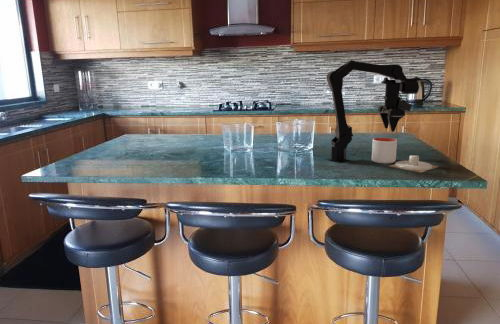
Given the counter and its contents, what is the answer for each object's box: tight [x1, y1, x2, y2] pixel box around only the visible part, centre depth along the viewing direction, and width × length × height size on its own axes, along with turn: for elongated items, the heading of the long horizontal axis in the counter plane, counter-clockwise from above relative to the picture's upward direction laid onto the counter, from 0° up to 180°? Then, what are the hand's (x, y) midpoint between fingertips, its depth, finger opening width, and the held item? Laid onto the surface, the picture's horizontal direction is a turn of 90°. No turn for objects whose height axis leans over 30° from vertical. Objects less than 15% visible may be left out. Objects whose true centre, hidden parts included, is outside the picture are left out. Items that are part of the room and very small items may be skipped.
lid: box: [394, 155, 433, 172], centre depth 160 cm, size 14×14×4 cm
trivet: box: [389, 163, 439, 174], centre depth 160 cm, size 14×14×1 cm
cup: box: [371, 137, 398, 164], centre depth 170 cm, size 10×10×10 cm
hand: (389, 130), depth 172 cm, fingers open, 9 cm apart
